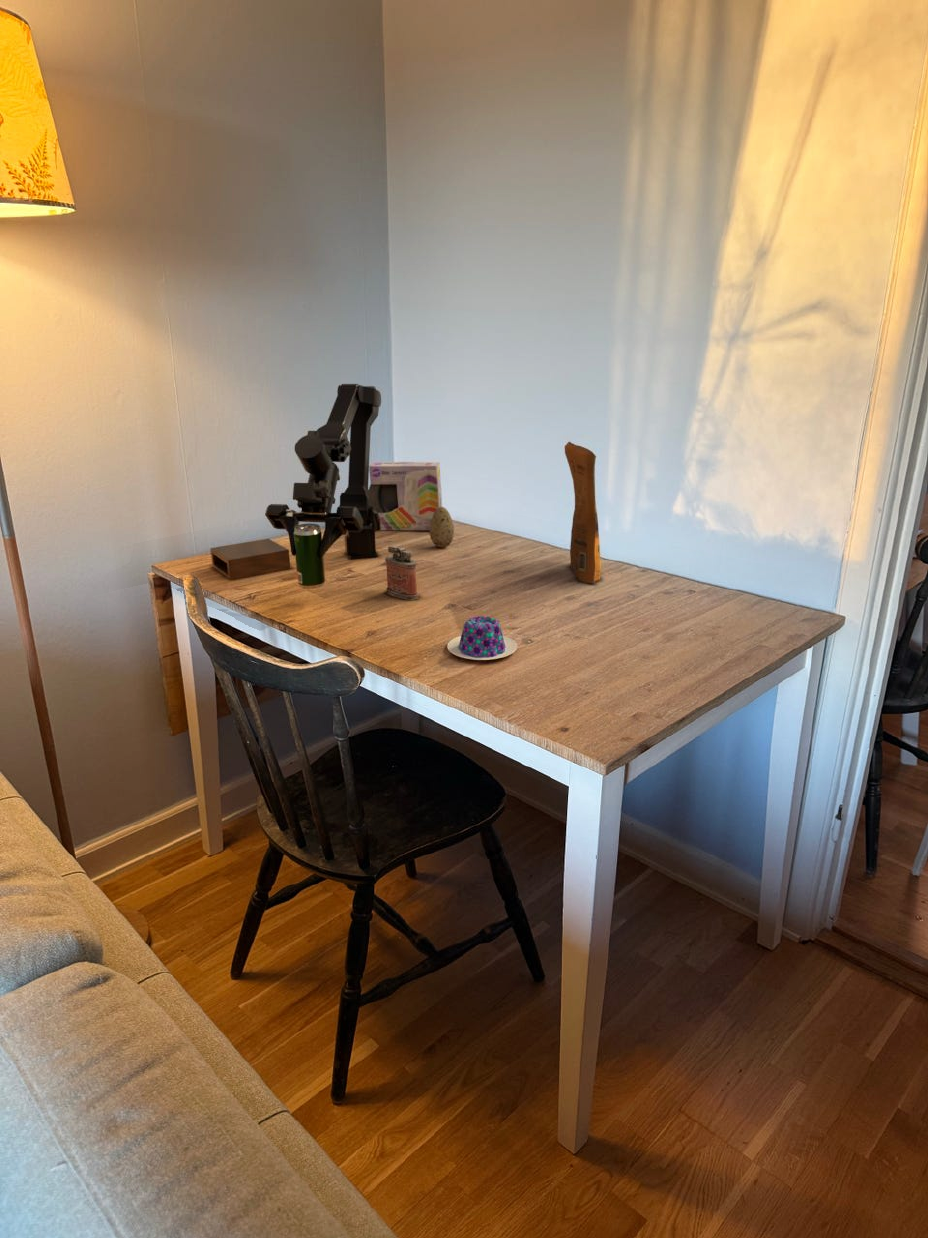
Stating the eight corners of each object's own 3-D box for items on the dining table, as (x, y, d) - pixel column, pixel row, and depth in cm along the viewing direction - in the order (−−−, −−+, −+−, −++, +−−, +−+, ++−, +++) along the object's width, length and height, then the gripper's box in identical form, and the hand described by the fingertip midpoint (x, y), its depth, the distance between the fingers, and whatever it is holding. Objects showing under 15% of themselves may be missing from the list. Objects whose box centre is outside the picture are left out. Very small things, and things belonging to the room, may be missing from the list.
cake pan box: (369, 530, 219) (365, 463, 213) (374, 525, 223) (370, 460, 217) (440, 532, 216) (438, 465, 210) (443, 528, 220) (442, 461, 214)
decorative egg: (425, 547, 202) (424, 507, 199) (439, 542, 207) (438, 503, 203) (444, 551, 199) (444, 510, 195) (459, 545, 204) (458, 506, 200)
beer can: (308, 591, 161) (303, 531, 157) (292, 585, 165) (287, 526, 161) (330, 584, 165) (326, 526, 160) (315, 578, 168) (310, 521, 164)
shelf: (270, 556, 196) (268, 538, 195) (290, 568, 187) (288, 549, 185) (212, 567, 189) (210, 548, 187) (230, 580, 180) (228, 560, 178)
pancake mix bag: (574, 587, 173) (579, 452, 163) (559, 561, 191) (563, 438, 181) (606, 586, 173) (613, 451, 163) (588, 560, 191) (594, 437, 181)
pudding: (464, 668, 134) (463, 639, 132) (436, 643, 144) (436, 615, 143) (529, 656, 139) (530, 627, 137) (498, 632, 149) (498, 605, 147)
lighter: (421, 597, 168) (420, 549, 164) (409, 601, 165) (408, 553, 162) (395, 588, 173) (393, 542, 169) (382, 592, 171) (380, 545, 167)
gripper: (263, 463, 162) (246, 533, 156) (355, 465, 158) (341, 536, 152) (282, 494, 172) (267, 560, 166) (369, 496, 169) (356, 564, 162)
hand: (306, 555), depth 161 cm, fingers closed on beer can, 5 cm apart
